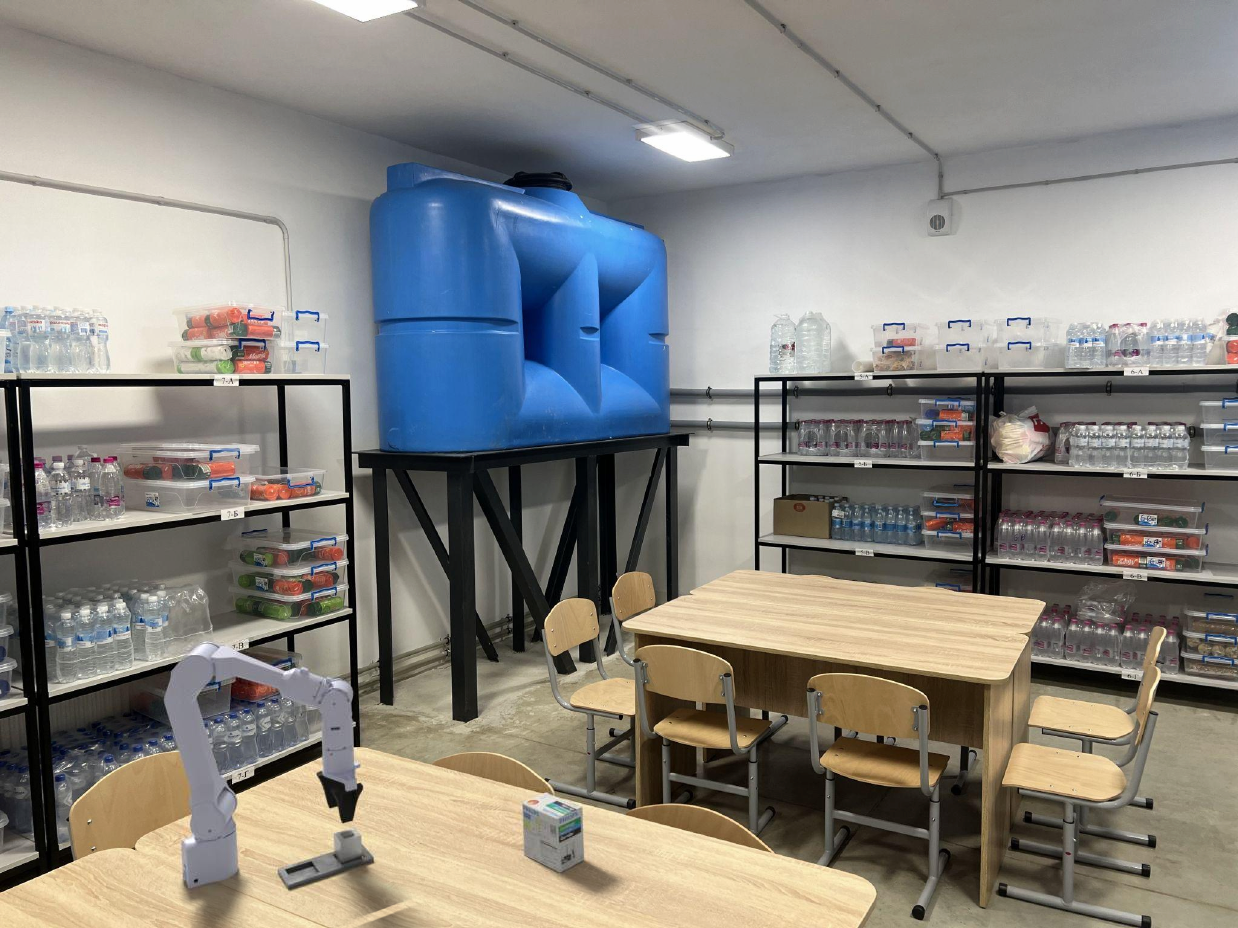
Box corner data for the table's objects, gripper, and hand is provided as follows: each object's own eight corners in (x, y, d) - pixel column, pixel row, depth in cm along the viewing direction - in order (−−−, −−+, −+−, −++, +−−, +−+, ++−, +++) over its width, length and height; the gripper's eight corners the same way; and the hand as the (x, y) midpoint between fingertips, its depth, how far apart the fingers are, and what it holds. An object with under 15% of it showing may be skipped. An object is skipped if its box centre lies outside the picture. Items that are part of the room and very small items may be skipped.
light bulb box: (585, 860, 173) (584, 806, 172) (560, 874, 168) (558, 818, 167) (547, 842, 180) (546, 790, 179) (522, 855, 175) (520, 801, 175)
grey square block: (341, 866, 170) (340, 840, 170) (334, 858, 173) (333, 832, 173) (362, 860, 173) (361, 833, 172) (355, 851, 176) (354, 826, 175)
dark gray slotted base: (288, 894, 163) (288, 884, 163) (278, 877, 169) (277, 868, 169) (374, 866, 172) (373, 856, 172) (361, 851, 178) (361, 842, 178)
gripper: (371, 751, 168) (374, 821, 169) (346, 729, 180) (348, 794, 181) (334, 761, 164) (337, 832, 165) (310, 737, 176) (313, 804, 177)
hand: (340, 813), depth 173 cm, fingers open, 7 cm apart
